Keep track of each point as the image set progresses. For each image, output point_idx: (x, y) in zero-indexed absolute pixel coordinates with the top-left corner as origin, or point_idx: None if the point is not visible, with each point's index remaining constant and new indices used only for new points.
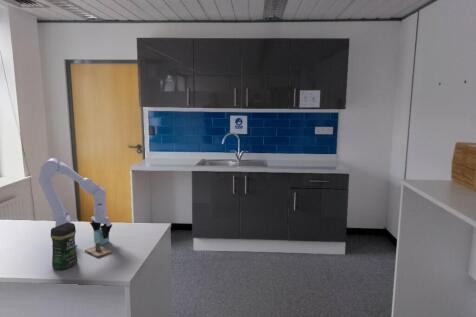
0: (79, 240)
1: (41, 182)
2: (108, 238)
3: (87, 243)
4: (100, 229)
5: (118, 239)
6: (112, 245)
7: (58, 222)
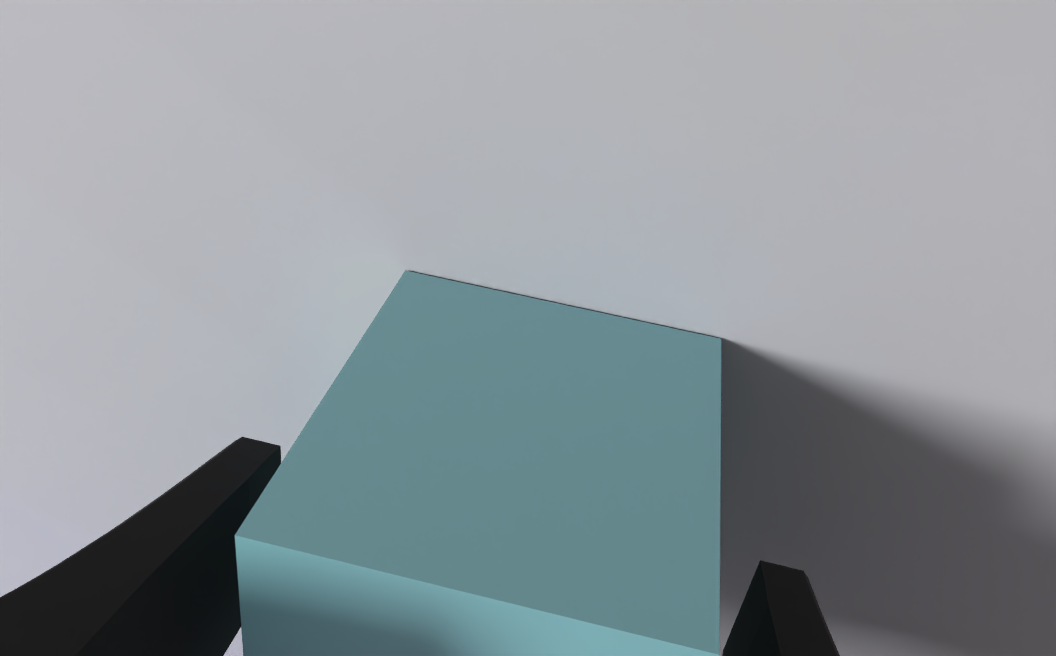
0: (35, 519)
1: None
2: (715, 425)
3: None
4: (290, 652)
5: (905, 61)
6: (1028, 496)
7: None
